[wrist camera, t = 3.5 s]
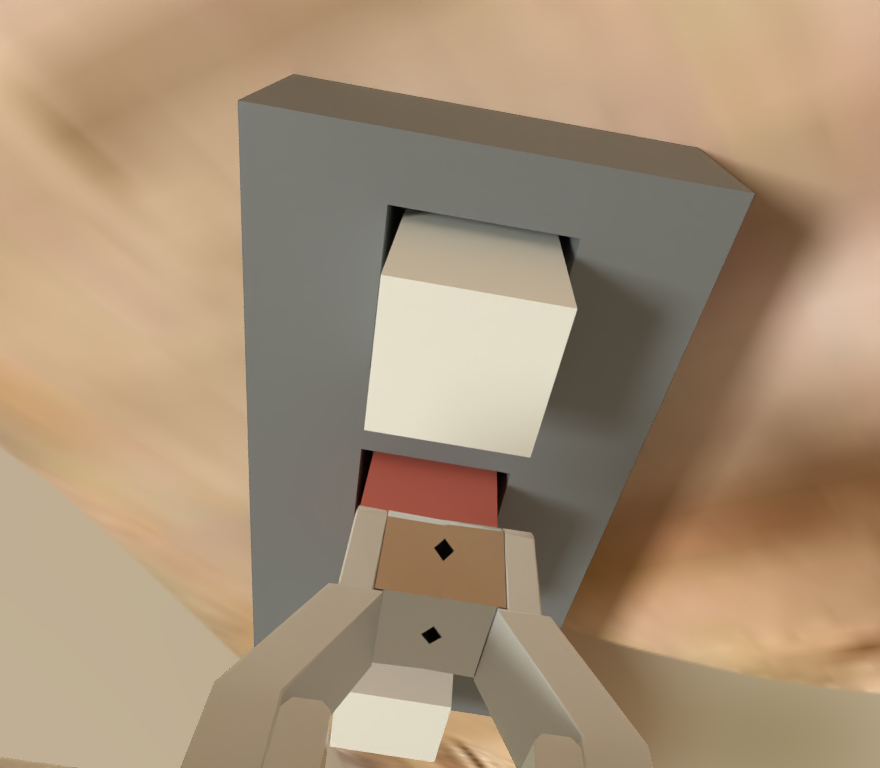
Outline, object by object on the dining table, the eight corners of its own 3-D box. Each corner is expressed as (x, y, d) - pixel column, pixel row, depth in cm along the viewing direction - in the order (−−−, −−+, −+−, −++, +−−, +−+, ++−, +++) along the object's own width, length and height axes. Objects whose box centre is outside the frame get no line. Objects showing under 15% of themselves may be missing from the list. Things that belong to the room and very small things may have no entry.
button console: (698, 147, 19) (755, 193, 15) (516, 629, 34) (519, 720, 30) (293, 74, 19) (237, 100, 15) (284, 593, 33) (255, 679, 29)
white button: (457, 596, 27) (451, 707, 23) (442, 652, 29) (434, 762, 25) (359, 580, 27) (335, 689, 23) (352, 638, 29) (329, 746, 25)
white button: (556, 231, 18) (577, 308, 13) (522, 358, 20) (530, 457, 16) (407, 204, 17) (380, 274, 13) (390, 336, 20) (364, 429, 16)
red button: (496, 452, 22) (497, 560, 18) (474, 533, 25) (471, 645, 21) (378, 432, 22) (352, 536, 18) (367, 516, 25) (342, 624, 20)
